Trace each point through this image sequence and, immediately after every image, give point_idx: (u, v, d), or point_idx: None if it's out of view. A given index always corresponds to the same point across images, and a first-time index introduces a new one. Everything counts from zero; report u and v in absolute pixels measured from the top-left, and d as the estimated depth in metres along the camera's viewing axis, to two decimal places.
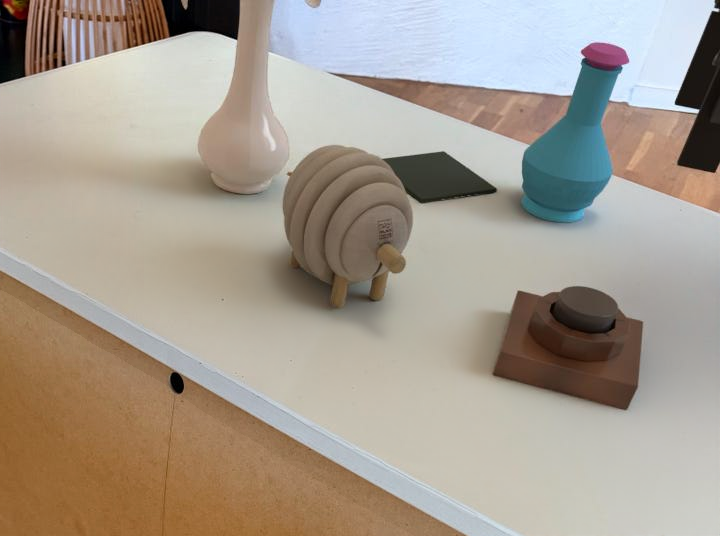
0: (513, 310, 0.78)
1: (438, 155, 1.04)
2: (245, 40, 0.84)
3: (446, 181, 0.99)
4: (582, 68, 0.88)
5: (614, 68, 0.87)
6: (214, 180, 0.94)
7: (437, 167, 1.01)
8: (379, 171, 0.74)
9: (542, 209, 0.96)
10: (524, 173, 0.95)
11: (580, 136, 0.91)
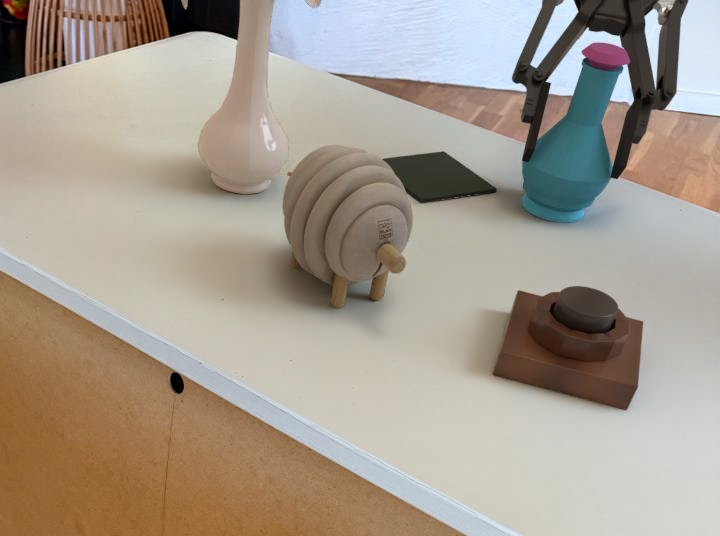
0: (513, 310, 0.78)
1: (438, 155, 1.04)
2: (245, 40, 0.84)
3: (446, 181, 0.99)
4: (583, 68, 0.88)
5: (615, 68, 0.87)
6: (214, 180, 0.94)
7: (437, 167, 1.01)
8: (379, 171, 0.74)
9: (542, 209, 0.96)
10: (524, 173, 0.95)
11: (580, 136, 0.91)
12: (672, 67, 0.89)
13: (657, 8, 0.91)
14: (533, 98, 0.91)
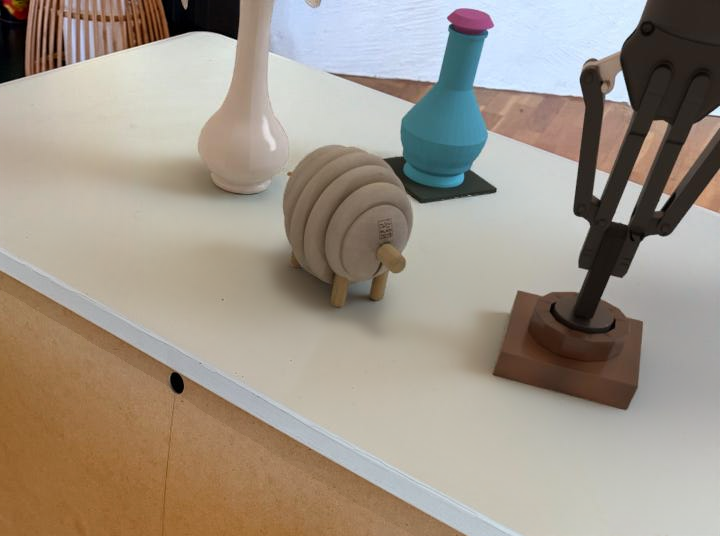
0: (513, 310, 0.78)
1: None
2: (245, 40, 0.84)
3: None
4: (449, 33, 0.90)
5: (479, 33, 0.89)
6: (214, 180, 0.94)
7: None
8: (379, 171, 0.74)
9: (421, 174, 0.98)
10: (401, 139, 0.97)
11: (451, 100, 0.93)
12: (687, 200, 0.66)
13: None
14: (592, 248, 0.71)
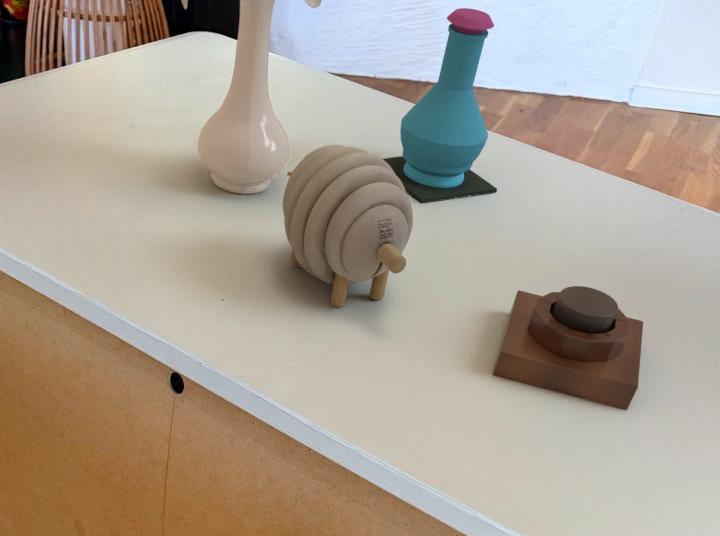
0: (513, 310, 0.78)
1: None
2: (245, 40, 0.84)
3: None
4: (449, 33, 0.90)
5: (479, 33, 0.89)
6: (214, 180, 0.94)
7: None
8: (379, 171, 0.74)
9: (421, 174, 0.98)
10: (401, 139, 0.97)
11: (451, 100, 0.93)
12: None
13: None
14: None
